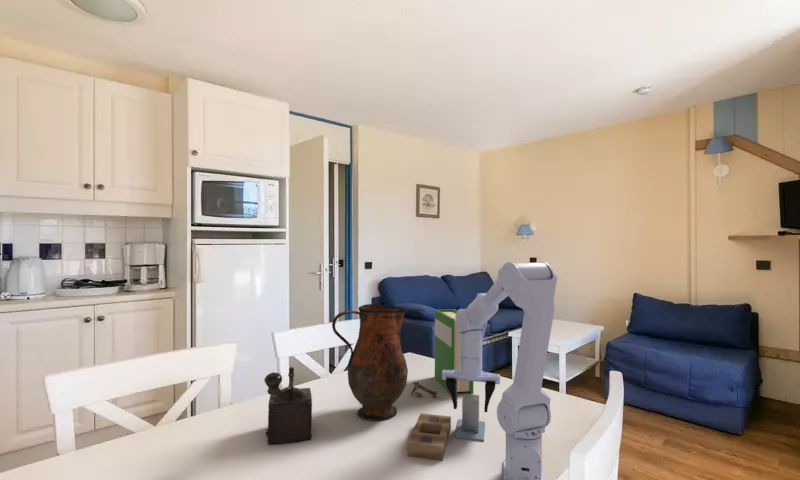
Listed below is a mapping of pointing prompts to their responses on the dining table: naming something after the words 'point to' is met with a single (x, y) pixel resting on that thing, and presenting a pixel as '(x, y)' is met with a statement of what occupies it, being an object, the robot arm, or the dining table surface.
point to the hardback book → (448, 348)
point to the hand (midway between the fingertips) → (470, 409)
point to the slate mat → (470, 435)
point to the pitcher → (377, 360)
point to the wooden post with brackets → (422, 389)
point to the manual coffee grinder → (288, 411)
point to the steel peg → (470, 413)
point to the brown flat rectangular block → (429, 437)
